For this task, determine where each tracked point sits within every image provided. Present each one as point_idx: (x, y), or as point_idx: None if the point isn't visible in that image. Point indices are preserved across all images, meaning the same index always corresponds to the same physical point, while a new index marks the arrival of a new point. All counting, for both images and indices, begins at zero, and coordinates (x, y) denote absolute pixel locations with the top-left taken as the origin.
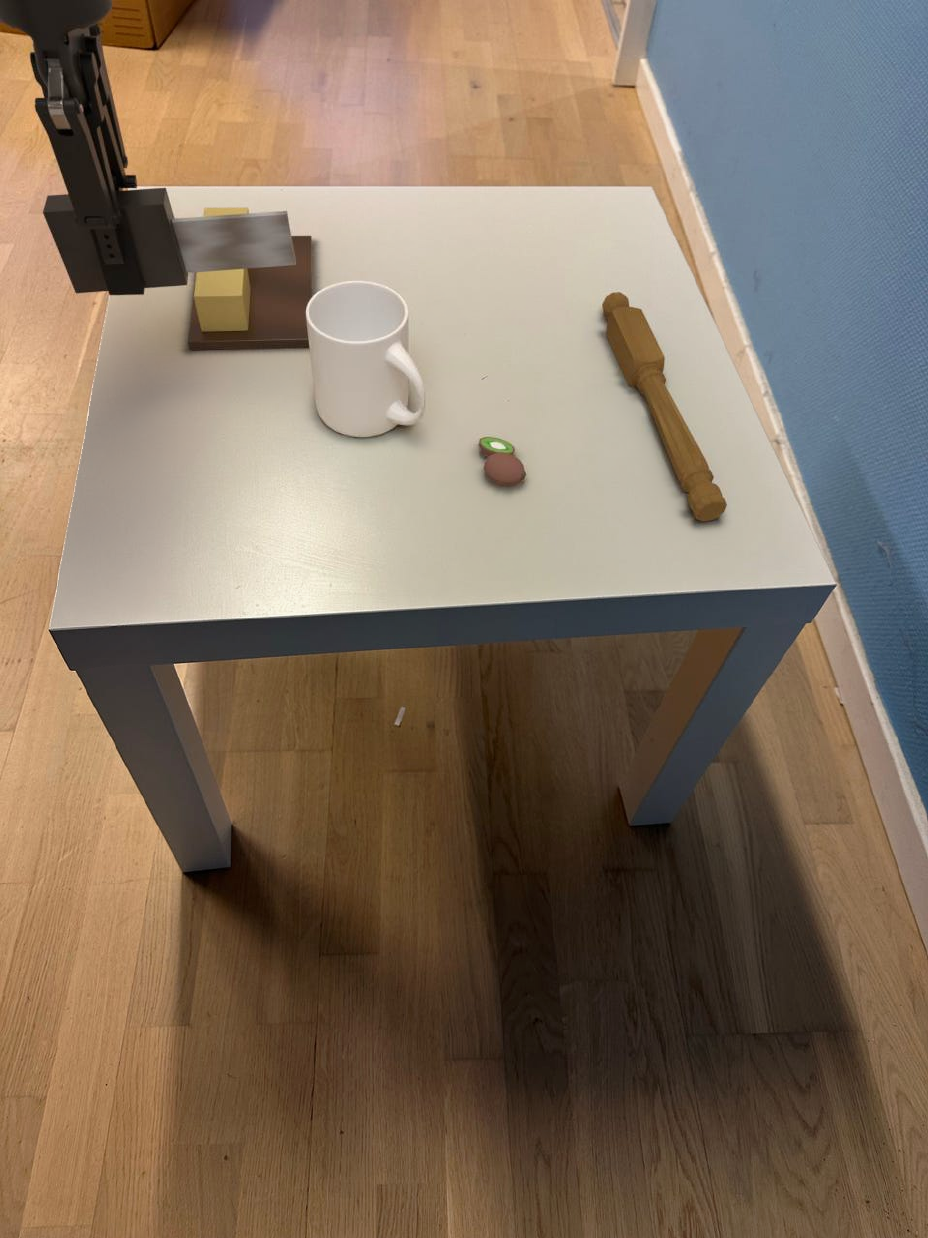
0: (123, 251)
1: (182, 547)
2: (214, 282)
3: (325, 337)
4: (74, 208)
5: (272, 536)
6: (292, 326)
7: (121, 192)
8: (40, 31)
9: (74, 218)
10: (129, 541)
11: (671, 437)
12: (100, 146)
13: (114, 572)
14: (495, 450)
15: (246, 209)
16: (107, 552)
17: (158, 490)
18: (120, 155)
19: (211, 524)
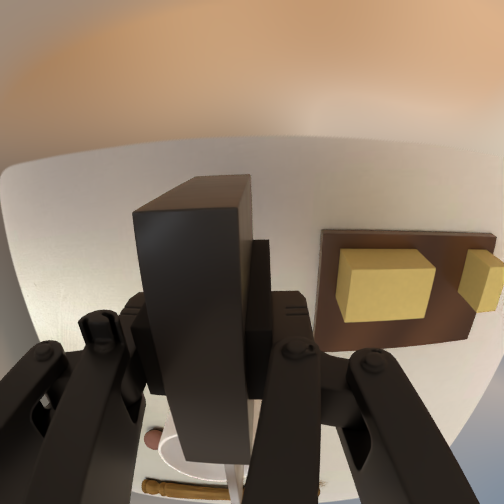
0: None
1: (54, 244)
2: (376, 291)
3: (163, 438)
4: (4, 379)
5: (76, 308)
6: (335, 336)
7: (237, 404)
8: None
9: (79, 323)
10: (53, 201)
11: (187, 493)
12: None
13: (29, 196)
14: None
15: (492, 310)
16: (42, 186)
17: (104, 217)
18: (342, 438)
19: (77, 265)
